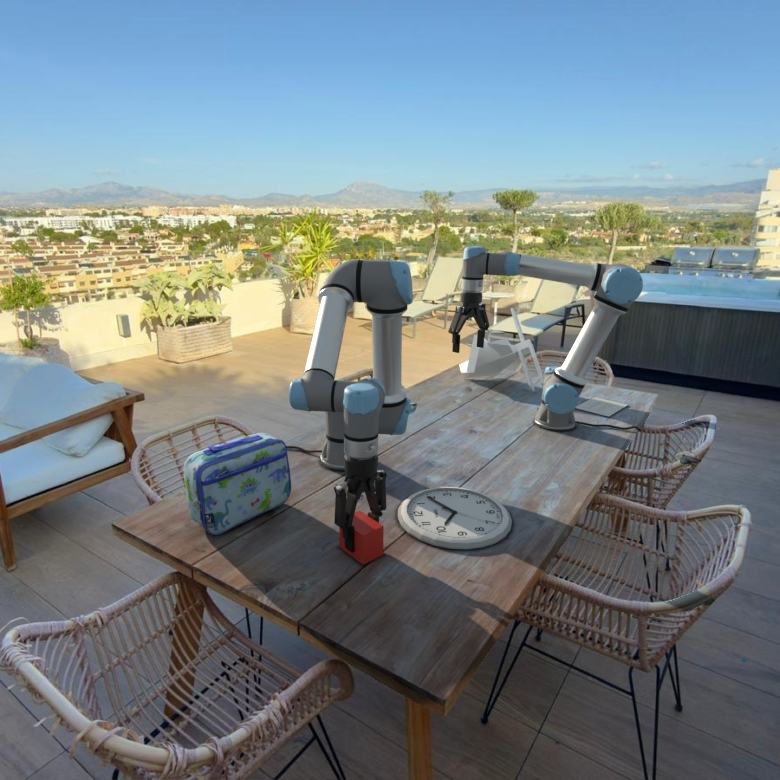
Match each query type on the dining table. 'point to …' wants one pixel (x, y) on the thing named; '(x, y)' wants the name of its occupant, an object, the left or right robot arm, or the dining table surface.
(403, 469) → the dining table surface
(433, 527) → the wall clock
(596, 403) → the invitation card
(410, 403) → the fork
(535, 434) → the dining table surface
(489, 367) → the white plastic object
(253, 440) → the lunch box
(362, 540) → the block
